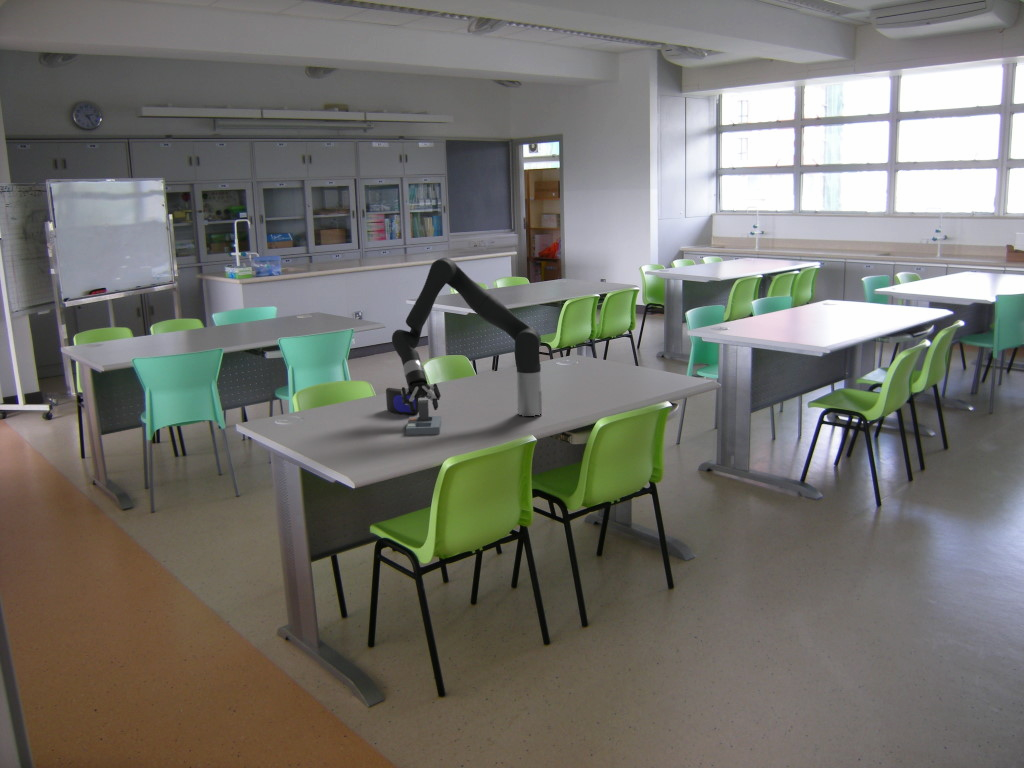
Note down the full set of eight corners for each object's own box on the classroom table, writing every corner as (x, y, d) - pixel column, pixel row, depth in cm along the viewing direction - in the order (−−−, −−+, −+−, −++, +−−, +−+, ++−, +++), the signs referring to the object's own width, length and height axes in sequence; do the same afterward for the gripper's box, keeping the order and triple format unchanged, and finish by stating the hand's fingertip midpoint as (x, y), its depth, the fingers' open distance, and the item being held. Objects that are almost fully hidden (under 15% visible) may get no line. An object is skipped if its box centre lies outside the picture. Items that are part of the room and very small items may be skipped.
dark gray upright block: (429, 423, 317) (428, 400, 315) (429, 425, 313) (427, 402, 311) (419, 423, 316) (418, 400, 314) (419, 426, 313) (418, 402, 311)
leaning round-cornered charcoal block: (381, 411, 336) (380, 389, 334) (389, 409, 340) (387, 386, 338) (412, 417, 328) (411, 393, 325) (420, 414, 331) (418, 391, 329)
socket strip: (441, 422, 319) (441, 415, 318) (439, 433, 303) (439, 426, 303) (409, 423, 318) (409, 416, 318) (406, 435, 303) (405, 427, 302)
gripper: (398, 370, 315) (408, 407, 307) (434, 367, 320) (445, 402, 312) (395, 381, 320) (405, 418, 313) (431, 378, 326) (441, 413, 318)
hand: (425, 410), depth 312 cm, fingers open, 8 cm apart
